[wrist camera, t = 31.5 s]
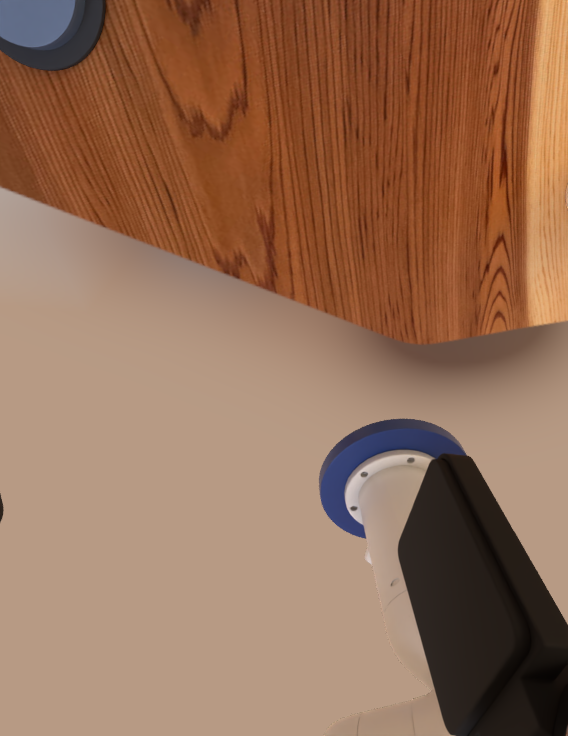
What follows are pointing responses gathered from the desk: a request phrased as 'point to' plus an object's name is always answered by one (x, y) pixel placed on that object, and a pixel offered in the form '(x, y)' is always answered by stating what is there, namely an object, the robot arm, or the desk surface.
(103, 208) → the desk surface
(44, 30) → the jar lid
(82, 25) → the coaster
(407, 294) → the desk surface
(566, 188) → the jar
